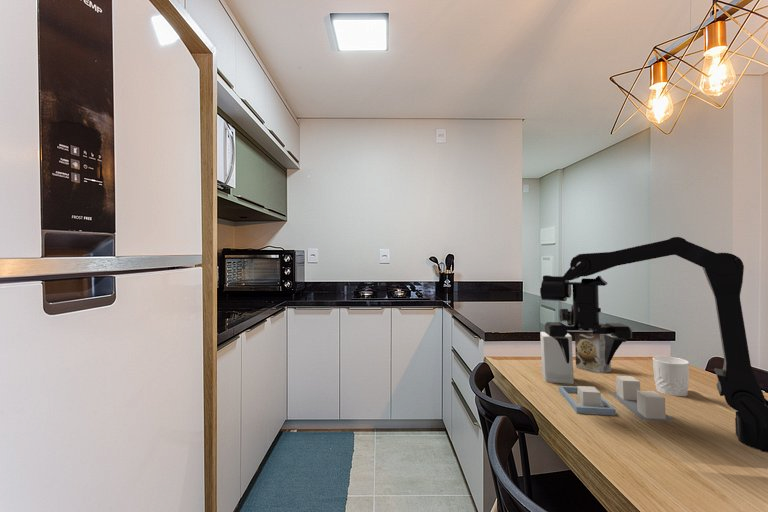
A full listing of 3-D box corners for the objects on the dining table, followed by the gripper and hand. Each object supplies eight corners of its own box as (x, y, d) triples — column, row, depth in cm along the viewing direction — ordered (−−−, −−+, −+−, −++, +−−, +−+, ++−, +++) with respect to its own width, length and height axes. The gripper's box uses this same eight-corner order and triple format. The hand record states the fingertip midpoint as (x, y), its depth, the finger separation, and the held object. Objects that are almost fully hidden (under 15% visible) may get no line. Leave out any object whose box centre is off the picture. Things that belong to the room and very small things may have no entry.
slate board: (676, 427, 79) (675, 421, 79) (641, 424, 80) (641, 419, 80) (637, 397, 96) (636, 393, 96) (609, 396, 97) (608, 392, 97)
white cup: (697, 402, 92) (696, 364, 92) (663, 400, 94) (662, 363, 94) (678, 391, 100) (677, 356, 100) (647, 389, 101) (646, 355, 102)
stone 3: (665, 419, 80) (665, 397, 80) (646, 418, 81) (645, 396, 81) (655, 411, 84) (655, 391, 84) (637, 410, 85) (636, 390, 85)
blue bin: (615, 420, 83) (615, 409, 83) (576, 417, 85) (576, 407, 85) (591, 396, 97) (591, 387, 97) (558, 394, 99) (558, 385, 99)
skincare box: (569, 380, 110) (568, 331, 110) (575, 388, 104) (573, 336, 104) (541, 378, 112) (539, 330, 113) (544, 386, 106) (543, 335, 106)
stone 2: (640, 400, 91) (639, 381, 91) (623, 399, 92) (622, 380, 92) (632, 394, 95) (632, 376, 95) (616, 393, 96) (615, 375, 96)
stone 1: (601, 412, 86) (600, 392, 86) (583, 411, 87) (582, 391, 87) (594, 406, 90) (594, 386, 90) (577, 405, 91) (577, 386, 91)
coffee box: (574, 367, 123) (573, 322, 124) (586, 364, 126) (585, 320, 126) (600, 374, 115) (598, 326, 115) (612, 371, 118) (610, 324, 118)
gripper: (611, 299, 95) (613, 356, 94) (538, 298, 98) (540, 353, 98) (632, 304, 84) (634, 369, 84) (549, 303, 87) (551, 365, 87)
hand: (587, 363), depth 88 cm, fingers open, 9 cm apart
